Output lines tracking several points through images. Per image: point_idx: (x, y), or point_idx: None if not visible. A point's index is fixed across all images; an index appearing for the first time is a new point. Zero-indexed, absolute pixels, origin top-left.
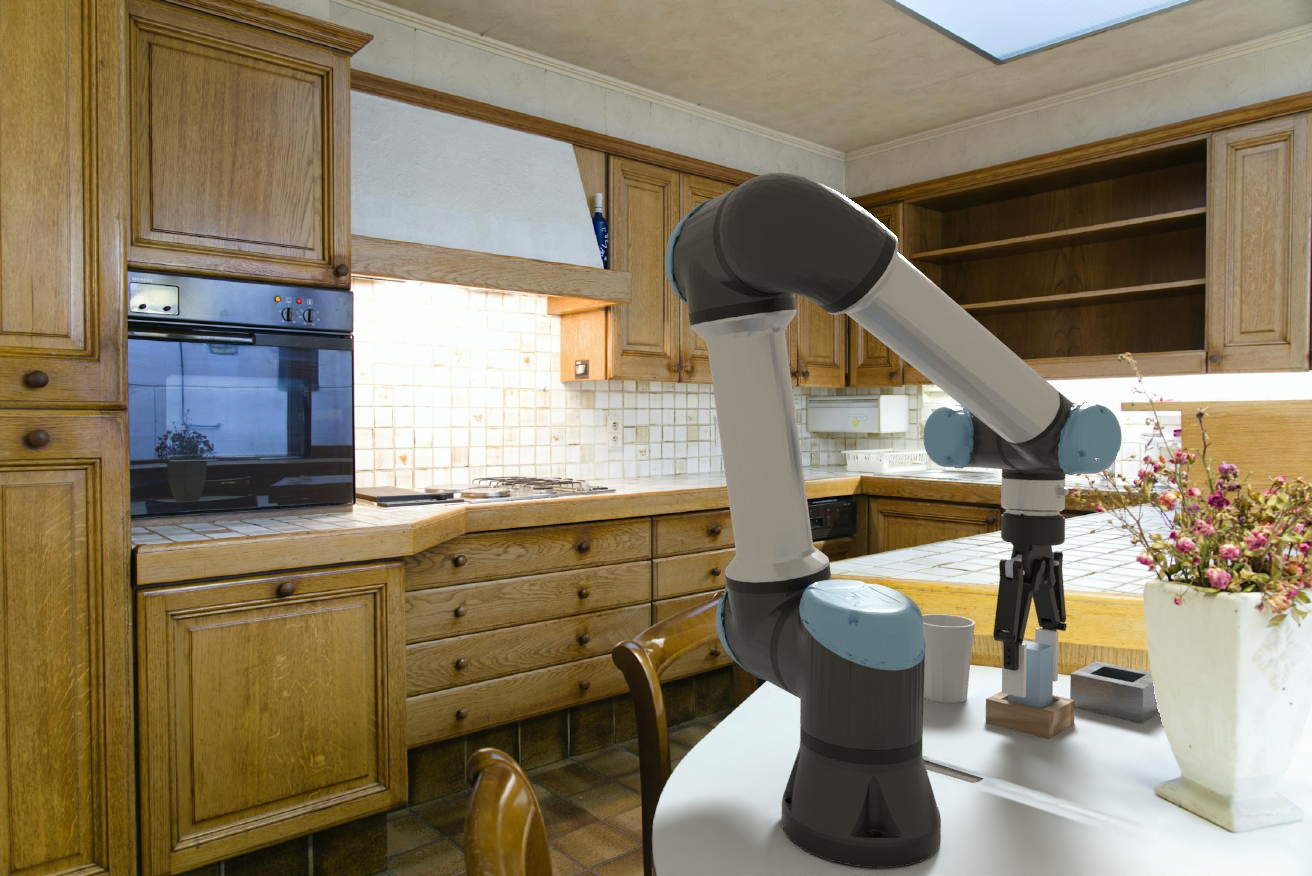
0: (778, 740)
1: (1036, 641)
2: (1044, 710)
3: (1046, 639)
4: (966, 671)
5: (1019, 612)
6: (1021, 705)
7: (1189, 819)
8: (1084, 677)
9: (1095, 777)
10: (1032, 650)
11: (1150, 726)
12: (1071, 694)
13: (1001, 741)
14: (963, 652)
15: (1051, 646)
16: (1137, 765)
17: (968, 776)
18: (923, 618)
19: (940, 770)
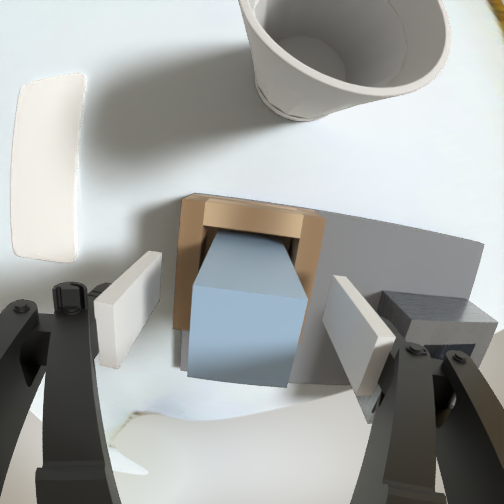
0: (9, 18)
1: (362, 319)
2: (189, 317)
3: (355, 354)
4: (309, 108)
5: (21, 425)
6: (189, 274)
7: (106, 428)
8: None
9: (131, 364)
10: (188, 356)
11: None
12: (393, 303)
13: (168, 230)
14: (295, 93)
15: (273, 386)
16: (211, 396)
17: (16, 244)
18: None
19: (11, 209)
